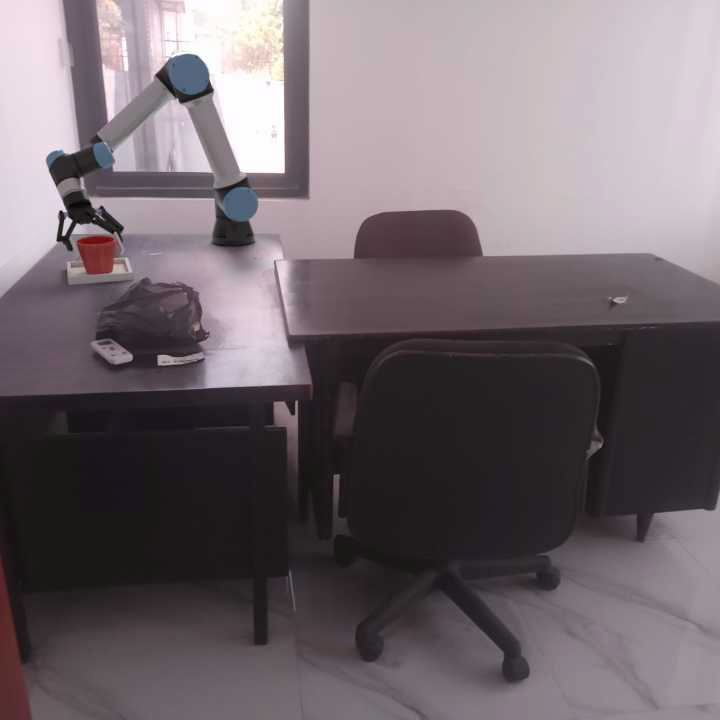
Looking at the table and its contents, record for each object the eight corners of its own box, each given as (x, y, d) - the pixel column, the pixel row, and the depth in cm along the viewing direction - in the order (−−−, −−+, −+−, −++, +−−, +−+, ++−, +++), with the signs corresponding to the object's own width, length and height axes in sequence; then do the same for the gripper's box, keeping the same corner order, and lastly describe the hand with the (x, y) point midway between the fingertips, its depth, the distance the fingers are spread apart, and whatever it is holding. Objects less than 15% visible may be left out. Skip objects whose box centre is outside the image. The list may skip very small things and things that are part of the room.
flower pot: (111, 276, 220) (108, 244, 216) (75, 275, 220) (70, 243, 217) (123, 267, 230) (119, 236, 226) (87, 266, 230) (83, 235, 226)
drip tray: (128, 264, 236) (127, 257, 235) (133, 279, 221) (132, 272, 220) (67, 268, 230) (66, 261, 229) (68, 285, 215) (67, 277, 214)
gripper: (111, 200, 236) (136, 256, 232) (30, 209, 221) (56, 269, 217) (116, 185, 231) (143, 242, 226) (34, 193, 216) (60, 255, 211)
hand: (100, 255), depth 221 cm, fingers open, 13 cm apart
